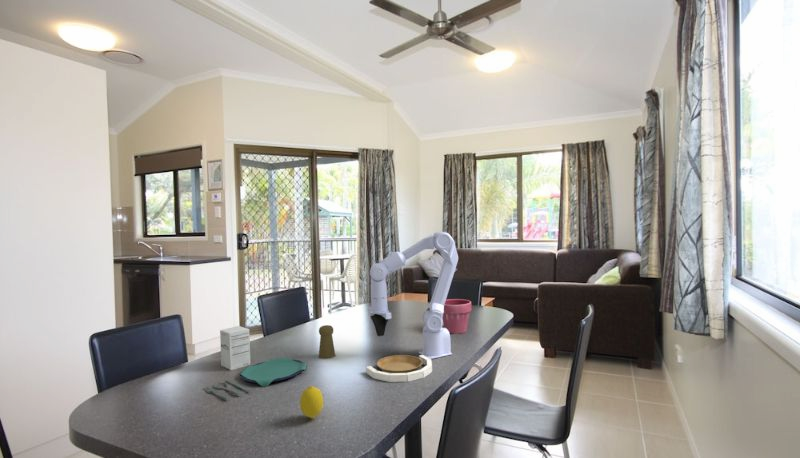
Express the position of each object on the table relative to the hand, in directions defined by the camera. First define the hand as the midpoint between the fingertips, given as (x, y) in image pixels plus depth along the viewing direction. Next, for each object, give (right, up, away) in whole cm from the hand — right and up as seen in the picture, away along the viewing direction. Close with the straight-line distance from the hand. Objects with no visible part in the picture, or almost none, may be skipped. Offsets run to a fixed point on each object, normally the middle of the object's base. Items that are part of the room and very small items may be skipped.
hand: (380, 335), depth 144 cm
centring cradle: (+9, -8, -16) cm, 19 cm away
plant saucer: (+7, -8, -12) cm, 16 cm away
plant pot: (+31, -7, +31) cm, 45 cm away
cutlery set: (-37, -10, -17) cm, 42 cm away
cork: (-20, -9, +3) cm, 22 cm away
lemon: (-15, -9, -44) cm, 47 cm away
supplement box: (-50, -10, -4) cm, 51 cm away
